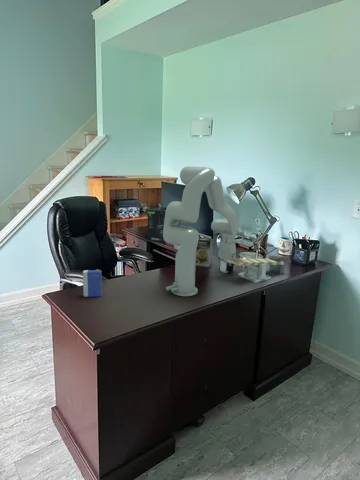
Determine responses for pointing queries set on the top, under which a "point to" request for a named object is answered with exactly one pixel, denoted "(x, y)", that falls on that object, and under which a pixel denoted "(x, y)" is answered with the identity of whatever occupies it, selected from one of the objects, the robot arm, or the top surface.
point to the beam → (256, 261)
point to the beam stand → (259, 272)
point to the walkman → (92, 283)
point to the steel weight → (224, 266)
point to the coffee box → (203, 252)
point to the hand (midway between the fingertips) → (226, 270)
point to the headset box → (156, 224)
